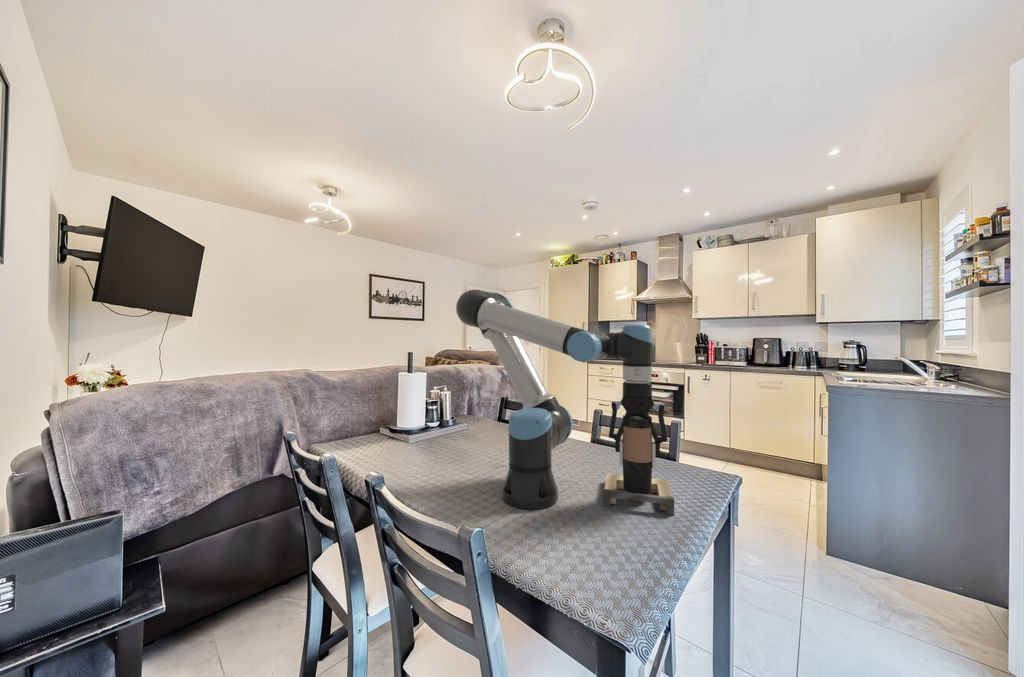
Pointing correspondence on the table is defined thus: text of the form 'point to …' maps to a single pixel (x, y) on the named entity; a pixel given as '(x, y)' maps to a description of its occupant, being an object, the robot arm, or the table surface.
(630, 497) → the wooden arch frame
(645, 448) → the travel mug
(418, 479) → the table surface
